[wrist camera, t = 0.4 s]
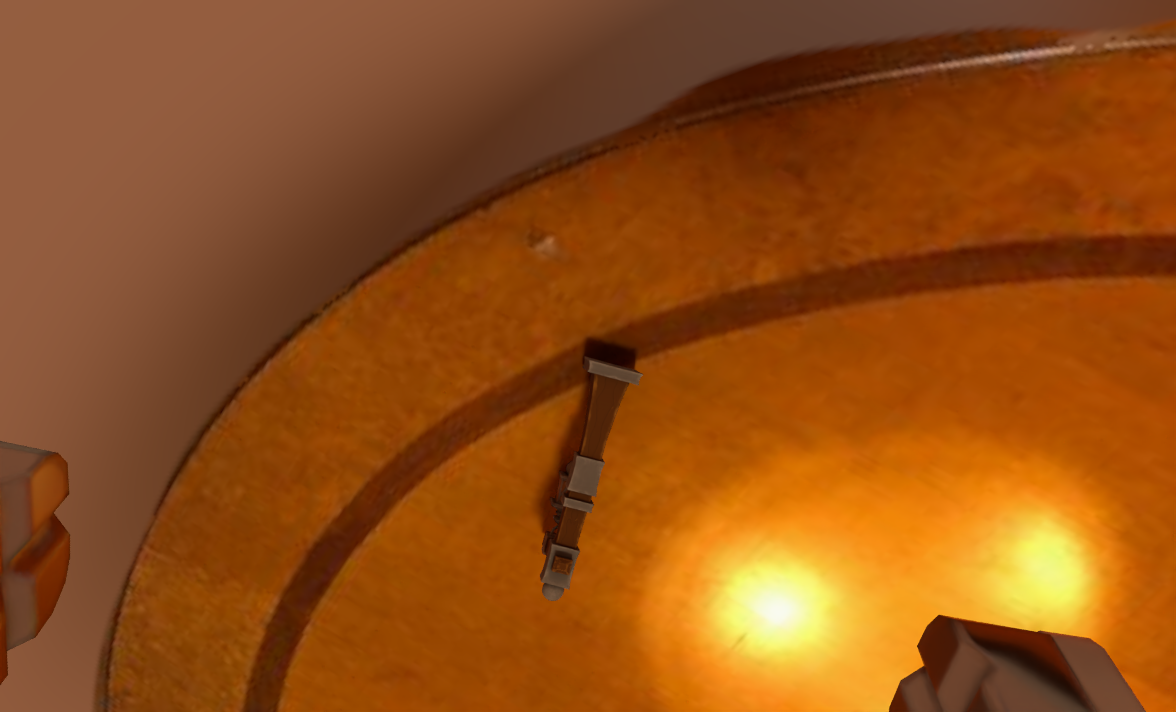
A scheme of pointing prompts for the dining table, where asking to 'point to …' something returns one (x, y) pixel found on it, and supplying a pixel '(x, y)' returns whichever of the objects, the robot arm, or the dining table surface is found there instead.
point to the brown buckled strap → (582, 474)
